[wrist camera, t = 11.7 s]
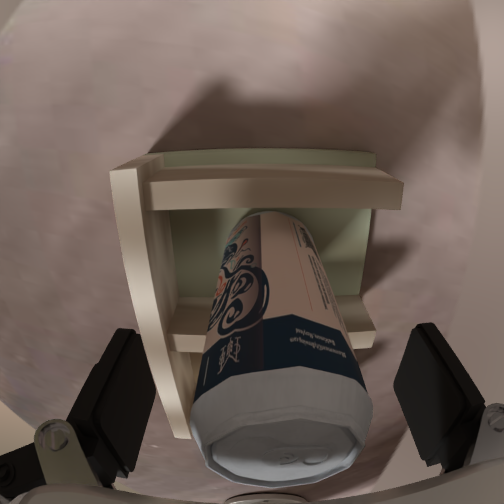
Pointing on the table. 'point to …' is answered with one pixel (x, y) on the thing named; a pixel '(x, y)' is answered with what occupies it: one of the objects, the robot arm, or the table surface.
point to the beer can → (277, 364)
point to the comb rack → (217, 231)
